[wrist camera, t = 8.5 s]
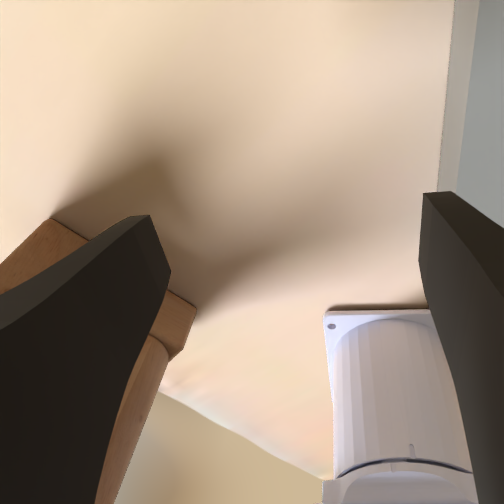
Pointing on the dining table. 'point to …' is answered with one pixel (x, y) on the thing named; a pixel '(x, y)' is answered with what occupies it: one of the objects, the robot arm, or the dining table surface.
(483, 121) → the board
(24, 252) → the wooden block
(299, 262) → the dining table surface
